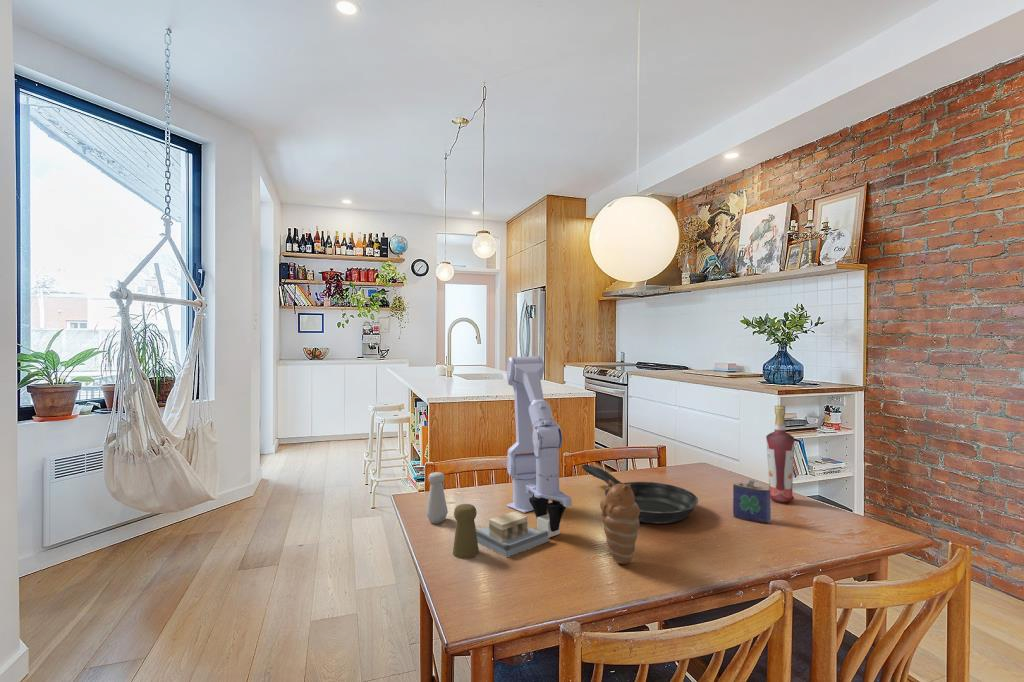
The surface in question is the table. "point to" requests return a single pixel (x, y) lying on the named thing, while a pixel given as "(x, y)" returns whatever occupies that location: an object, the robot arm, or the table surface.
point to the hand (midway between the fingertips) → (548, 527)
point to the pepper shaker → (465, 532)
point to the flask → (751, 502)
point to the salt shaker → (436, 499)
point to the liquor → (780, 460)
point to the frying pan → (654, 498)
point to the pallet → (508, 526)
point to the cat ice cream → (620, 521)
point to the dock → (512, 541)
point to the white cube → (546, 525)
